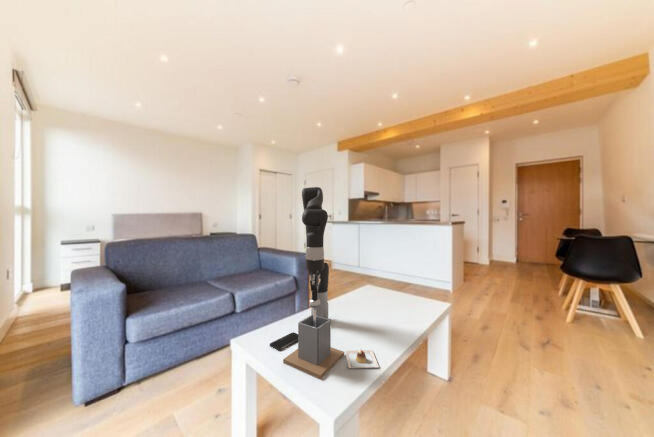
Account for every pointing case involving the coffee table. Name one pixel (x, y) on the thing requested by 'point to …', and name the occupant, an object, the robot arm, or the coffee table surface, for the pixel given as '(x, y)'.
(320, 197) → the robot arm
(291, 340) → the phone
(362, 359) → the dessert
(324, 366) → the grey square holder
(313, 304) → the plunger
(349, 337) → the coffee table surface
